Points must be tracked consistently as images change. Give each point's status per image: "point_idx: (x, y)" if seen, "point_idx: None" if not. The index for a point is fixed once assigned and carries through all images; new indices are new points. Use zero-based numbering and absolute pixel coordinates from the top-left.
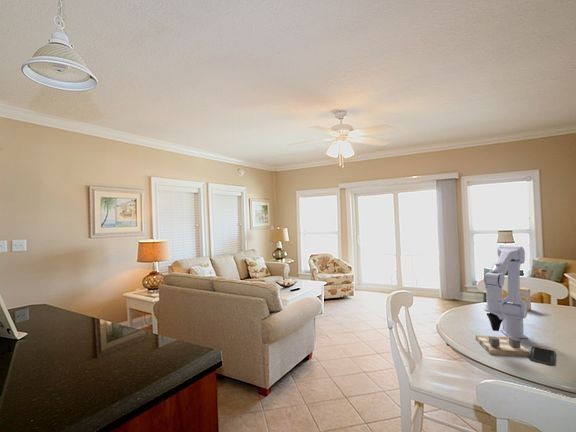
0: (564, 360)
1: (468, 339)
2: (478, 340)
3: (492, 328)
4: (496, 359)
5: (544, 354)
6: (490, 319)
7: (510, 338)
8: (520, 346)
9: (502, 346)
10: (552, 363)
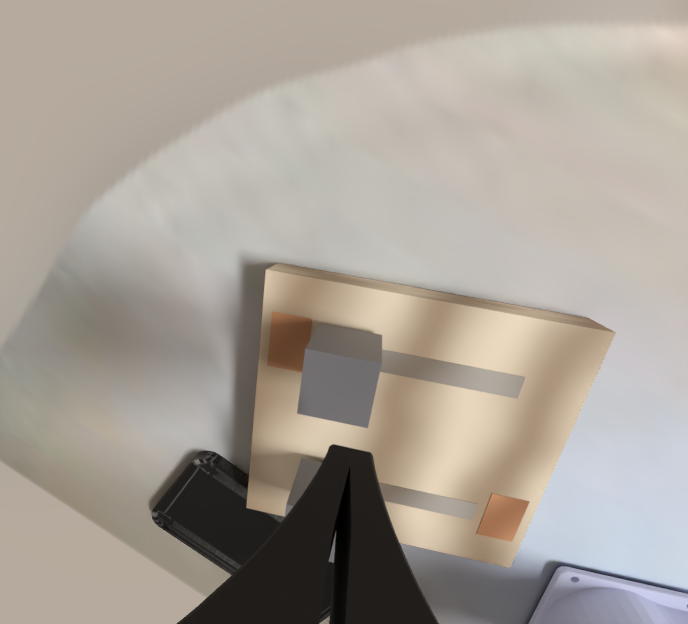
0: None
1: (601, 248)
2: (524, 310)
3: (350, 461)
4: (190, 257)
5: None
6: (315, 600)
7: None
8: None
9: None
10: (154, 517)
